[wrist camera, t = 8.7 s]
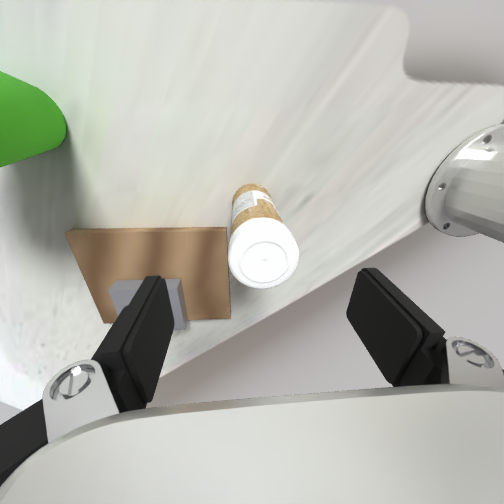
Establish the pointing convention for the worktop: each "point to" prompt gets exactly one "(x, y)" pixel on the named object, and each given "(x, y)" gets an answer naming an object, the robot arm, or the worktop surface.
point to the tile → (127, 288)
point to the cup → (27, 121)
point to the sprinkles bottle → (260, 241)
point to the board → (157, 264)
